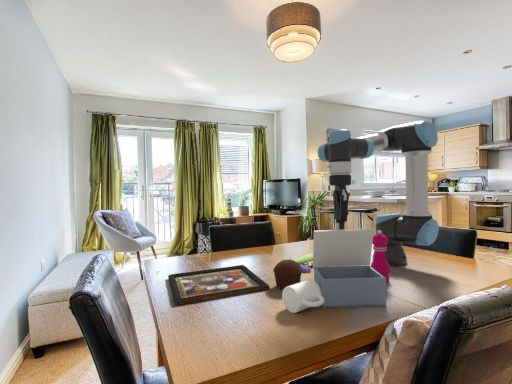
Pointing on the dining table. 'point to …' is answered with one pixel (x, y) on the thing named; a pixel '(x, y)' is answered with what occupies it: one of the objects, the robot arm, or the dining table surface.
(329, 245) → the lid
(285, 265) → the muffin
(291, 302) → the mug
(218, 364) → the dining table surface
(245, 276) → the framed painting
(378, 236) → the pepper mill
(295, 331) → the dining table surface
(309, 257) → the figurine
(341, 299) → the box
